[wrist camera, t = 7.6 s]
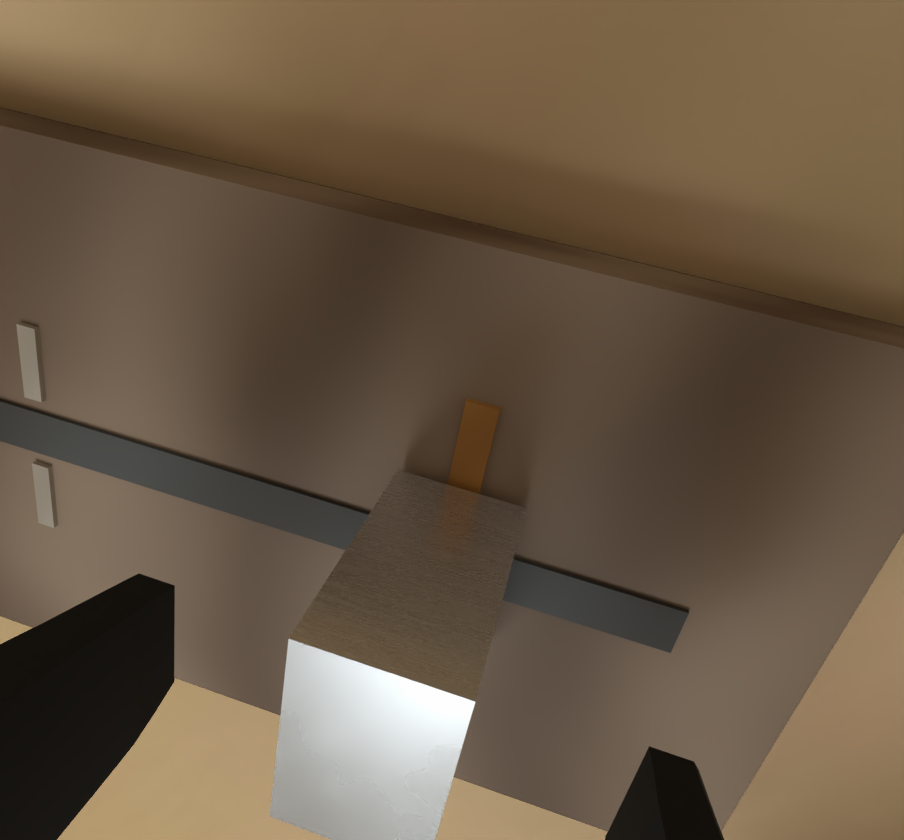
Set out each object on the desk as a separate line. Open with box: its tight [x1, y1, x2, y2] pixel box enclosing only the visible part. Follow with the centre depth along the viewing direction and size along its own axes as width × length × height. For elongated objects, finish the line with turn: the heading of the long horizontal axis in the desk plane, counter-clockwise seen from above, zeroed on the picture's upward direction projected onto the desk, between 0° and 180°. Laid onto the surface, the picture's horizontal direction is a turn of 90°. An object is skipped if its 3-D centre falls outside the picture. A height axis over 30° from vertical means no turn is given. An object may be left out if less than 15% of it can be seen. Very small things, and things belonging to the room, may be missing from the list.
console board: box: [0, 108, 904, 831], centre depth 14 cm, size 20×12×2 cm, turn 79°
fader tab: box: [270, 470, 527, 840], centre depth 11 cm, size 2×4×4 cm, turn 169°
